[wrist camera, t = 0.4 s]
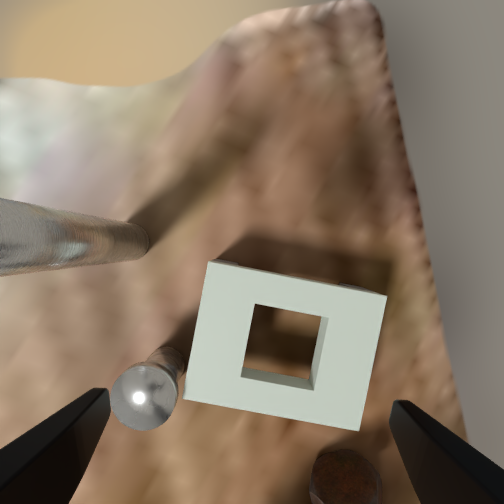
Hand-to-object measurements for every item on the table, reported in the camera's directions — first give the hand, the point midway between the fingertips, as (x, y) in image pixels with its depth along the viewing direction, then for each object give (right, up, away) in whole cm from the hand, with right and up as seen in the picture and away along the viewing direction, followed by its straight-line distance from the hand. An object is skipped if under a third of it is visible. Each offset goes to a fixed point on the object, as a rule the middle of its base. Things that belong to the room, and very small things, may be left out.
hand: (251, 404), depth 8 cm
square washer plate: (+2, -2, +14) cm, 14 cm away
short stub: (-7, -5, +14) cm, 17 cm away
